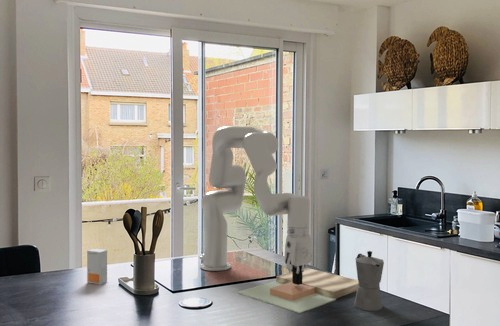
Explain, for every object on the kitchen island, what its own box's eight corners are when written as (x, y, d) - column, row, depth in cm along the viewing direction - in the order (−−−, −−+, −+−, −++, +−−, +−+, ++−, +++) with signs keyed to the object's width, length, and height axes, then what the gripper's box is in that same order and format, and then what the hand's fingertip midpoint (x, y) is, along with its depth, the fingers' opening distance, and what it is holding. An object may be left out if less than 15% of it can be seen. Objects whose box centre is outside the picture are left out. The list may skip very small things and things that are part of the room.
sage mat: (237, 292, 181) (237, 291, 181) (274, 282, 194) (274, 281, 194) (299, 313, 161) (299, 312, 161) (336, 300, 174) (336, 298, 174)
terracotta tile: (269, 294, 178) (269, 288, 178) (292, 287, 187) (292, 281, 187) (292, 300, 171) (292, 294, 171) (314, 293, 180) (314, 287, 180)
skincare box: (86, 282, 191) (86, 250, 190) (94, 279, 194) (94, 248, 194) (100, 284, 188) (100, 252, 188) (107, 281, 192) (107, 249, 192)
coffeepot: (391, 312, 163) (393, 255, 162) (363, 314, 160) (365, 256, 159) (369, 297, 178) (370, 244, 177) (343, 298, 175) (344, 245, 174)
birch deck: (276, 282, 193) (276, 276, 193) (307, 274, 206) (307, 267, 206) (333, 299, 175) (333, 291, 175) (363, 288, 187) (363, 281, 187)
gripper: (292, 235, 172) (291, 290, 173) (320, 230, 183) (319, 281, 184) (275, 232, 178) (274, 285, 179) (303, 227, 188) (302, 277, 189)
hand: (297, 283), depth 181 cm, fingers closed
